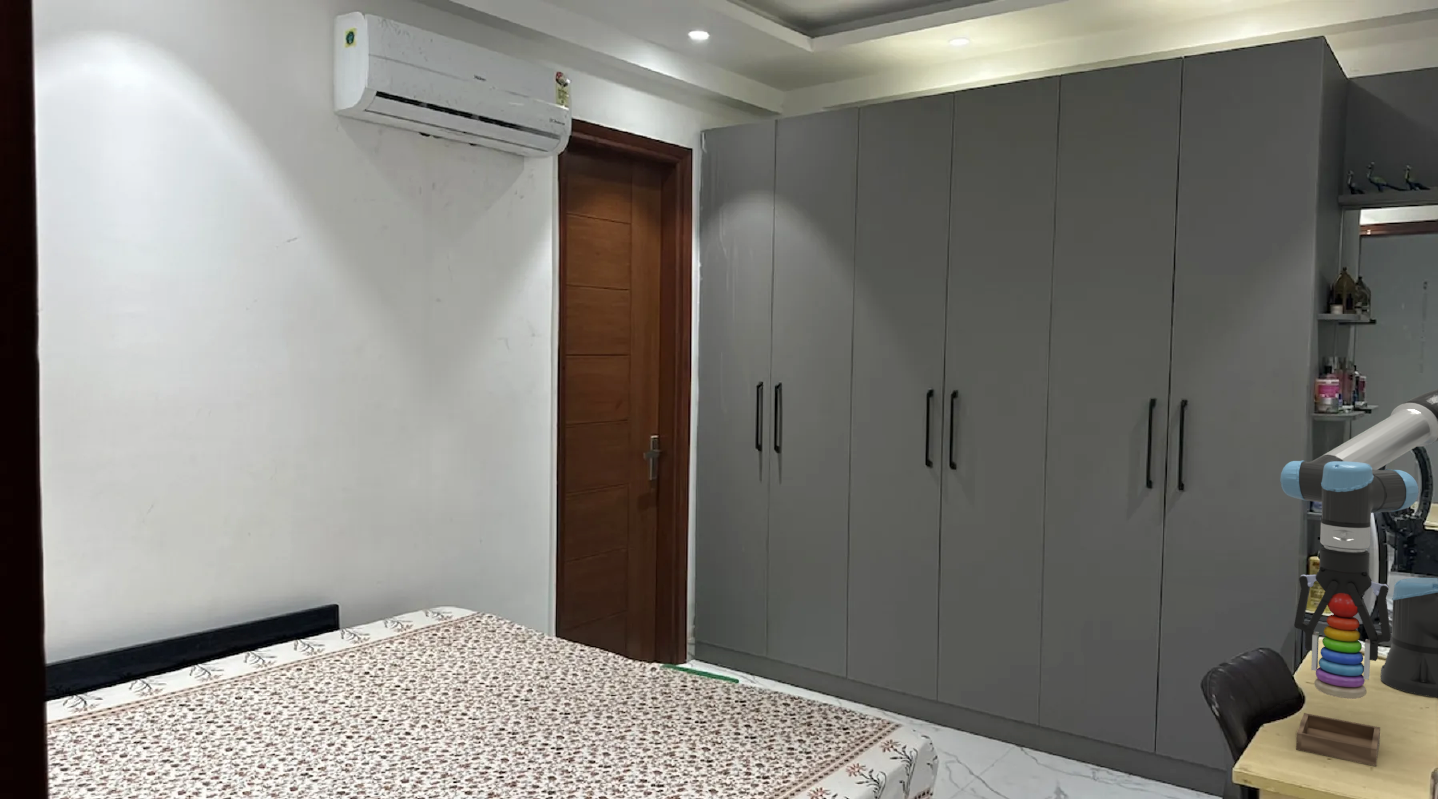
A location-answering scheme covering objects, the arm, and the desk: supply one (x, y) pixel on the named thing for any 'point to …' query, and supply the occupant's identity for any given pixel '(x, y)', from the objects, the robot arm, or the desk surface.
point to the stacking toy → (1341, 652)
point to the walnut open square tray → (1338, 739)
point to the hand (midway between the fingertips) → (1340, 672)
